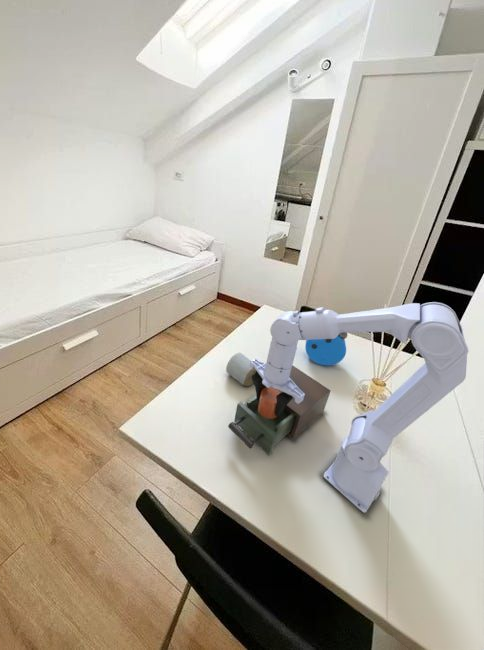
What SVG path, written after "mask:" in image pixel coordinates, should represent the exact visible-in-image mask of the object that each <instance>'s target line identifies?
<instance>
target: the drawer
mask: <svg viewBox="0 0 484 650" xmlns="http://www.w3.org/2000/svg"><path fill="white" fill-rule="evenodd" d="M258 403H259V401H258V400H257V396H256V395H254V396H253V397H251V398H250V399H248V400H247V401H246V403H245V404H244V403H243V402H242V401H239V402H237V403H236V410H235V415H234V419H233V420H234V421H231V422H230V423H229V424H228V429H229V430H230V431H232V432H233V434H234V435H236V437H237V438H238V439H239V440H240V441H241V442H242V443H244V445H245V446H246V447H247V448H249V450H251V449H253V448H254V446H255V444H256V445H257V446H258V447H260V448H261V450H262V451H264V452H265V453H266V454H267V455H268V456H270V455H271V454H272V453H273V451H274V447H275V446H276V445H277V444H278V443H279V442H280V441H281V440H283V439H284V438H285V437H286V436H288V435H287V434H288V433H289V432H290V431H292V430H293V426H294V423H295V420H296V415H295V414H293V413H292V412H291V411H290V410H288V409H287V408H286V407H285V408H284V410H283V412H282V413H281V414H280V415H279V416H277V417H276V418H273V419H268V418H265V417H263V416H262V415H261V414H260V413H259V412H258Z"/></svg>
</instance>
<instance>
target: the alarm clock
mask: <svg viewBox="0 0 484 650" xmlns="http://www.w3.org/2000/svg"><path fill="white" fill-rule="evenodd" d="M347 337H348V332H340V333H339V335H338V336H337V337H336V338H334V339H315V340H305V353H306V355H307V357H308V358H309V359H310V360H311V361H313V362H314V363H316V364H317V365H320V366H334V365H337V364H339V363H340V362H342V361H343V360H344V358H345V357H346V354H347V345H346V339H347Z"/></svg>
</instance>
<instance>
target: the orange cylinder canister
mask: <svg viewBox="0 0 484 650" xmlns="http://www.w3.org/2000/svg"><path fill="white" fill-rule="evenodd" d="M278 394H280V392H279V391H278V390H276V389H274V388H271V387H269V388H268V387H266V388H264V389H262V391H261V394H260V398H259V403H258V412H259V413H260V414H261V415H262V416H263V417H265V418H268V419H273V418H276V417H277V416H276V415H275V410H276V406H277V398H276V396H277V395H278Z"/></svg>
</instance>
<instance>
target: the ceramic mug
mask: <svg viewBox="0 0 484 650" xmlns="http://www.w3.org/2000/svg"><path fill="white" fill-rule="evenodd" d="M250 361H252V360H251V359H250V358H248V357H247V356H246V355H245V354H243V353H242V352H237V353H235V354H233V355H232V357H230V359H229V361H228V362H227V364H226V368H225V371H226V374H228V375H229V376H231V377H232V378H233V379H234V380H236V381H237V382H239V383H240V384H241V385H243V386H244V387H249V386H252V385H253V384H254V383H253V380H252V375H254V374H255V373H256V370H255V369H251V368H250Z"/></svg>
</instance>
